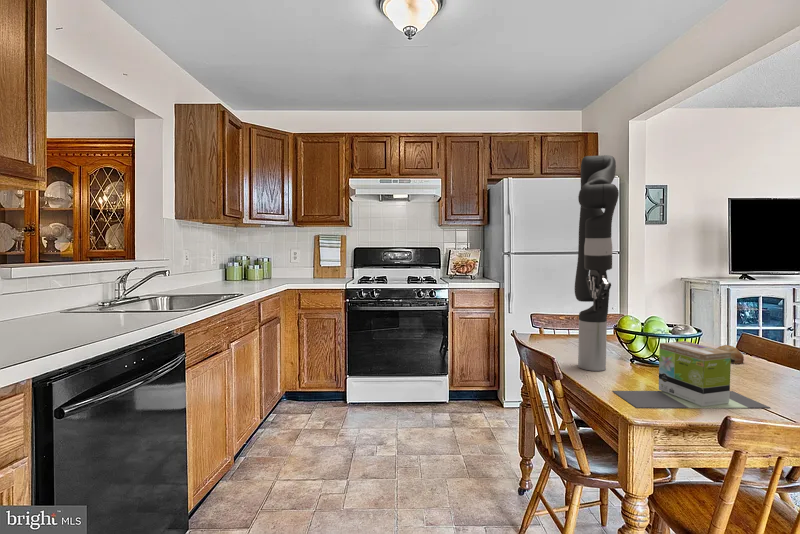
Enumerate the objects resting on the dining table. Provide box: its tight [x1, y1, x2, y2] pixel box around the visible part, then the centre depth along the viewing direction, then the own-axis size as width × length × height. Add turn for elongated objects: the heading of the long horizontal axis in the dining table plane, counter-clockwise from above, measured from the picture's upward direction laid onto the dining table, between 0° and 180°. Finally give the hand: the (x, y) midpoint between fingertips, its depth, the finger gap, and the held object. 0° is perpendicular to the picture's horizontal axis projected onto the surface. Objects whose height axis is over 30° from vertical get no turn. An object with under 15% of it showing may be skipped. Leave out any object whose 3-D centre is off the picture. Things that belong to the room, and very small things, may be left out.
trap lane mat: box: [612, 390, 771, 410], centre depth 129 cm, size 14×36×1 cm, turn 90°
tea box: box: [658, 340, 732, 407], centre depth 130 cm, size 15×10×15 cm
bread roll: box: [715, 344, 745, 365], centre depth 173 cm, size 10×10×8 cm
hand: (597, 310), depth 134 cm, fingers closed
